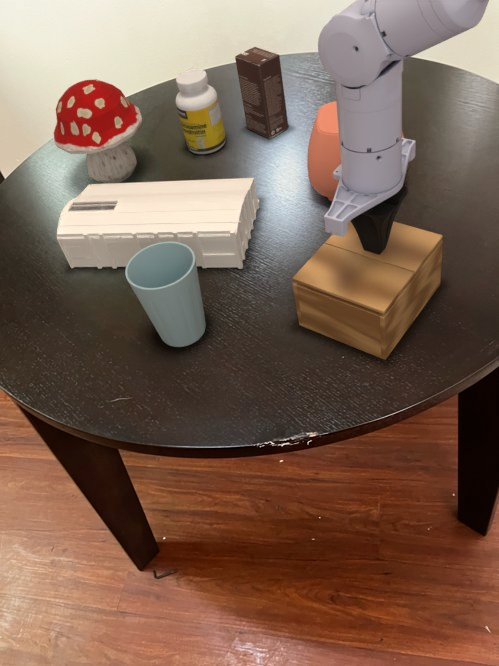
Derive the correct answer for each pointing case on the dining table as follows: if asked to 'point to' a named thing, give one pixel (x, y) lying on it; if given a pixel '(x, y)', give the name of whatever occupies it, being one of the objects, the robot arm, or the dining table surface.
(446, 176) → the dining table surface
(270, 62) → the box
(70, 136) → the decorative mushroom
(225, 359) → the dining table surface
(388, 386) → the dining table surface
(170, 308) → the cup
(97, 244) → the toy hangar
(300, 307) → the wooden box
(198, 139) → the pill bottle
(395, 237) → the flap
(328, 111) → the teapot
